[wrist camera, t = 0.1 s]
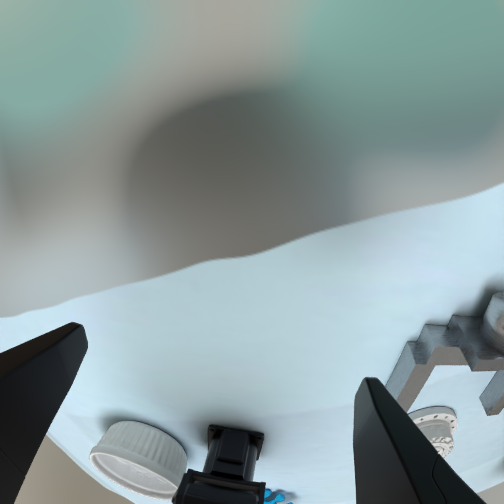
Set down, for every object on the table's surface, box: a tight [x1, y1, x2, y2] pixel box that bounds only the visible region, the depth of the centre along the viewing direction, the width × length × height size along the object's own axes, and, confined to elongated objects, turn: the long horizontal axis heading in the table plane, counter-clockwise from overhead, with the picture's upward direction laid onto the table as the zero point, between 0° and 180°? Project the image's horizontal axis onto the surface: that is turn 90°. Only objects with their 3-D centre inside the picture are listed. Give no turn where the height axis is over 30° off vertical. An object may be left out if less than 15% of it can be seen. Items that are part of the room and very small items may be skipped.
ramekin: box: [89, 421, 187, 500], centre depth 34 cm, size 13×13×7 cm
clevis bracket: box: [385, 292, 504, 416], centre depth 22 cm, size 14×16×6 cm
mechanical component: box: [408, 407, 458, 458], centre depth 29 cm, size 10×4×10 cm
